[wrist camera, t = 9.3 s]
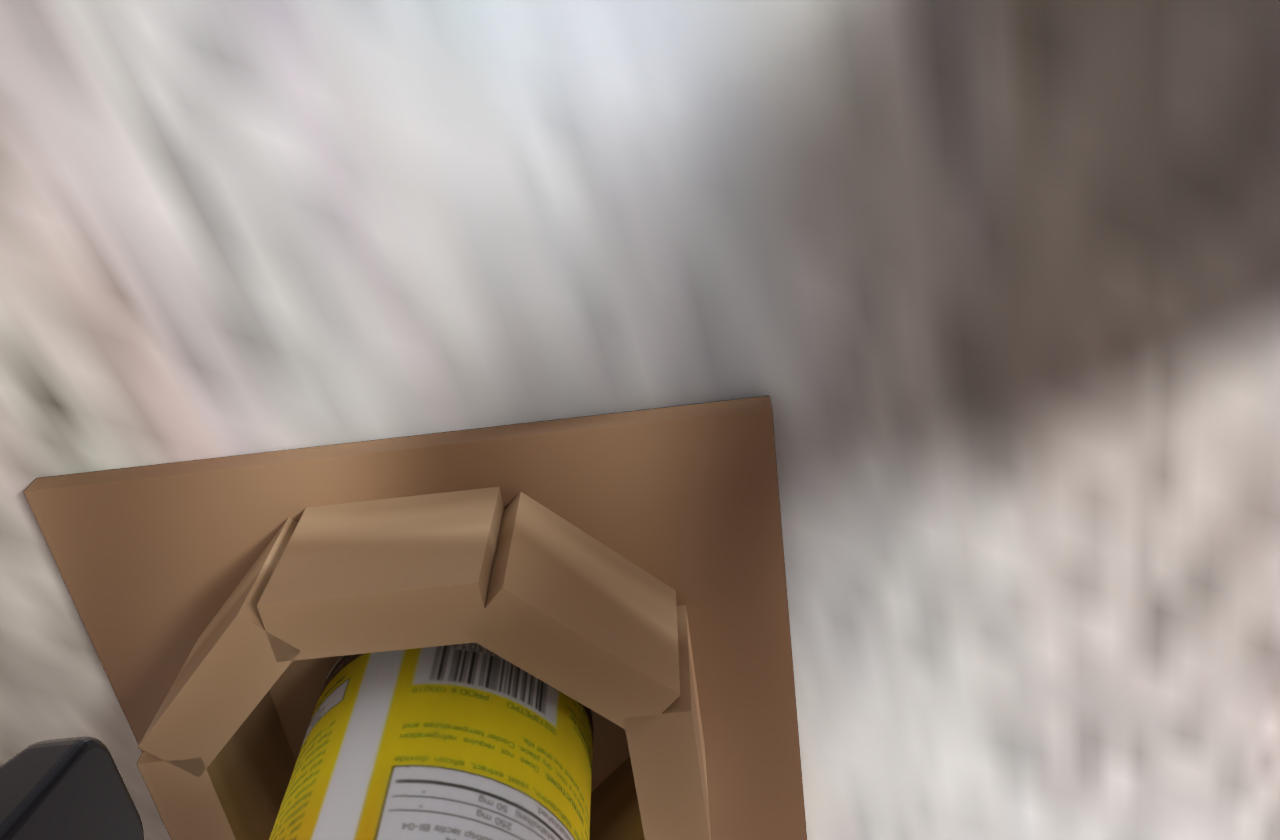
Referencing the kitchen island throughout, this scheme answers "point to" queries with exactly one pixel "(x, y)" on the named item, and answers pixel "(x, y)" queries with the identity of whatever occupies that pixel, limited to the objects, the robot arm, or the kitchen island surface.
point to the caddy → (455, 604)
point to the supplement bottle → (440, 753)
